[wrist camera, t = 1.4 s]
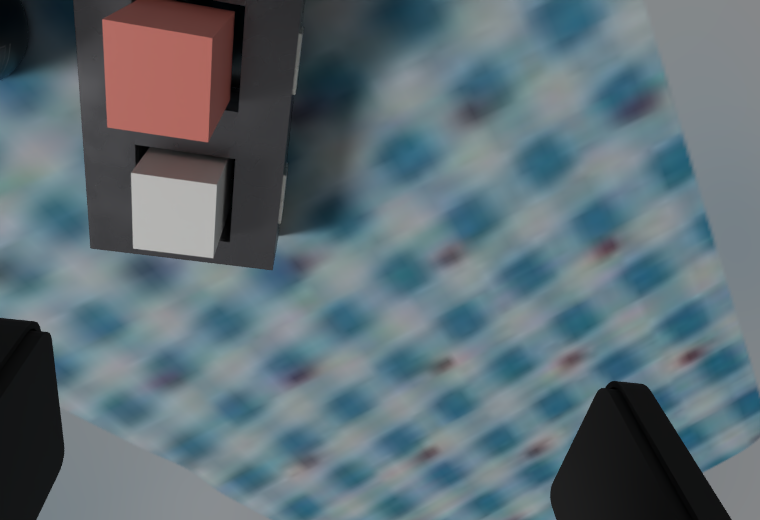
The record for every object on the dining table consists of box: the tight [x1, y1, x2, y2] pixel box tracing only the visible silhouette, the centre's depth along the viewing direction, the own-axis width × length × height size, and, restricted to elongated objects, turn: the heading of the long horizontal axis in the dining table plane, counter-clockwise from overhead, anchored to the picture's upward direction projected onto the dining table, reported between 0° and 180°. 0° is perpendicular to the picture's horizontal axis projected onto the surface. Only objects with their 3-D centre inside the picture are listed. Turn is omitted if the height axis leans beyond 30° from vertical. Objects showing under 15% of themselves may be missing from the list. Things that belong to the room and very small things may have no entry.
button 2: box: [102, 0, 235, 142], centre depth 26 cm, size 4×4×6 cm
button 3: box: [131, 147, 234, 258], centre depth 33 cm, size 4×4×6 cm
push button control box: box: [73, 0, 305, 270], centre depth 29 cm, size 27×10×4 cm, turn 170°
